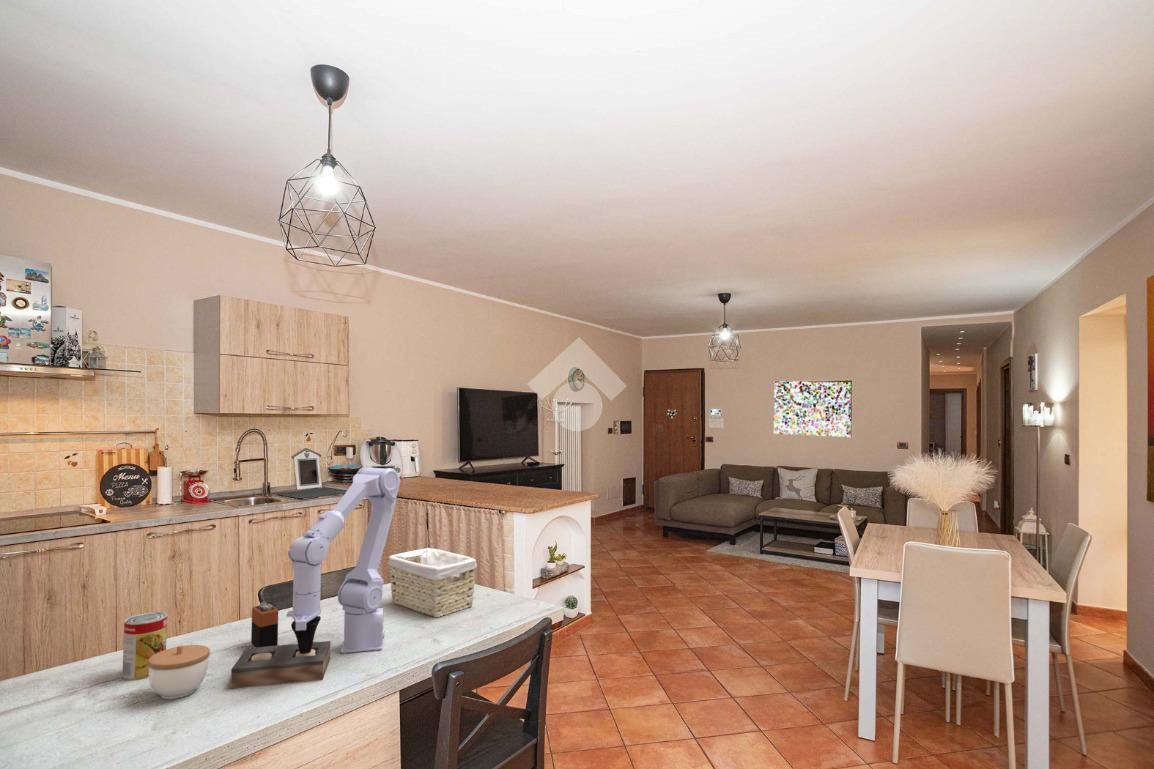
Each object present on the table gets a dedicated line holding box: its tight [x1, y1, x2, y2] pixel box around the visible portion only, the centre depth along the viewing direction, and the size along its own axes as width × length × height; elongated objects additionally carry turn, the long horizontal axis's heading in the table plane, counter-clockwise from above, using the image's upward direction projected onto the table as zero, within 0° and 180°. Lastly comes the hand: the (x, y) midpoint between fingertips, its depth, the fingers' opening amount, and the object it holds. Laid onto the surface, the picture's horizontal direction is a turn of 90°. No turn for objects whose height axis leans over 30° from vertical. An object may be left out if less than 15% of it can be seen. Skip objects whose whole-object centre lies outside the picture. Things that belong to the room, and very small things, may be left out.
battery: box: [250, 602, 279, 648], centre depth 153 cm, size 4×7×10 cm, turn 44°
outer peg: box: [251, 653, 272, 661], centre depth 135 cm, size 4×4×4 cm
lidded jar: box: [148, 644, 211, 700], centre depth 127 cm, size 11×11×9 cm
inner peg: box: [296, 649, 315, 657], centre depth 138 cm, size 4×4×4 cm
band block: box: [230, 640, 332, 690], centre depth 137 cm, size 18×12×4 cm, turn 105°
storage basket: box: [387, 547, 478, 618], centre depth 185 cm, size 24×16×15 cm
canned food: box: [121, 611, 168, 681], centre depth 137 cm, size 8×8×12 cm
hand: (305, 652), depth 138 cm, fingers closed, pressing on inner peg
